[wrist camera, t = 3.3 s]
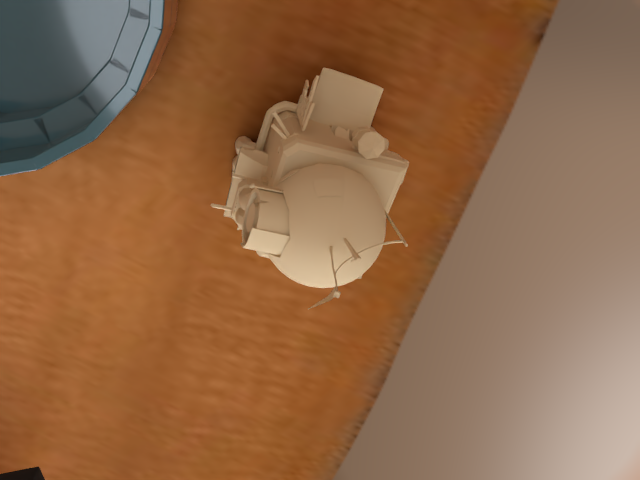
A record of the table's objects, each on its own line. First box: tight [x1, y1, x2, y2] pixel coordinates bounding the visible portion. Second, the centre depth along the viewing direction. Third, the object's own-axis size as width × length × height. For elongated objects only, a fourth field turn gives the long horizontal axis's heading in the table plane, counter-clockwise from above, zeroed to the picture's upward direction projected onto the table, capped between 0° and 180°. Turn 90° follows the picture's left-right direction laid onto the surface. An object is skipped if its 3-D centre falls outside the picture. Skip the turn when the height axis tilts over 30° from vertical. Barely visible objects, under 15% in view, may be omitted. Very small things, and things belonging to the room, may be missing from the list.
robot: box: [211, 67, 409, 309], centre depth 26 cm, size 10×8×15 cm
